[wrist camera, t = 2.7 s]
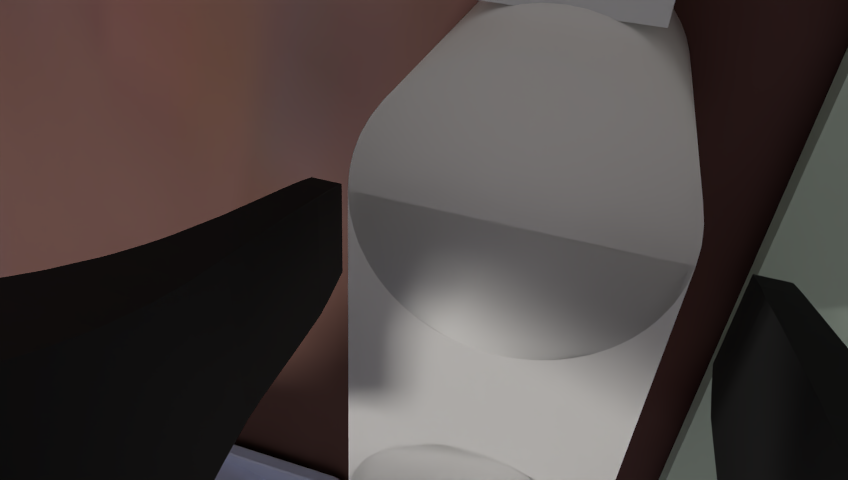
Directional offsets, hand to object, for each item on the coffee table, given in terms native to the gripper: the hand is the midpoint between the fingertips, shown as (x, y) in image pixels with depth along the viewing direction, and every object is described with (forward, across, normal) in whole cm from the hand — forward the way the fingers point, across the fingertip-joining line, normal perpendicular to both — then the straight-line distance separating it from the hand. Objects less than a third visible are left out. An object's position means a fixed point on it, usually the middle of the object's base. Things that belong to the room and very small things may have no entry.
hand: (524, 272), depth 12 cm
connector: (+2, 0, -1) cm, 2 cm away
